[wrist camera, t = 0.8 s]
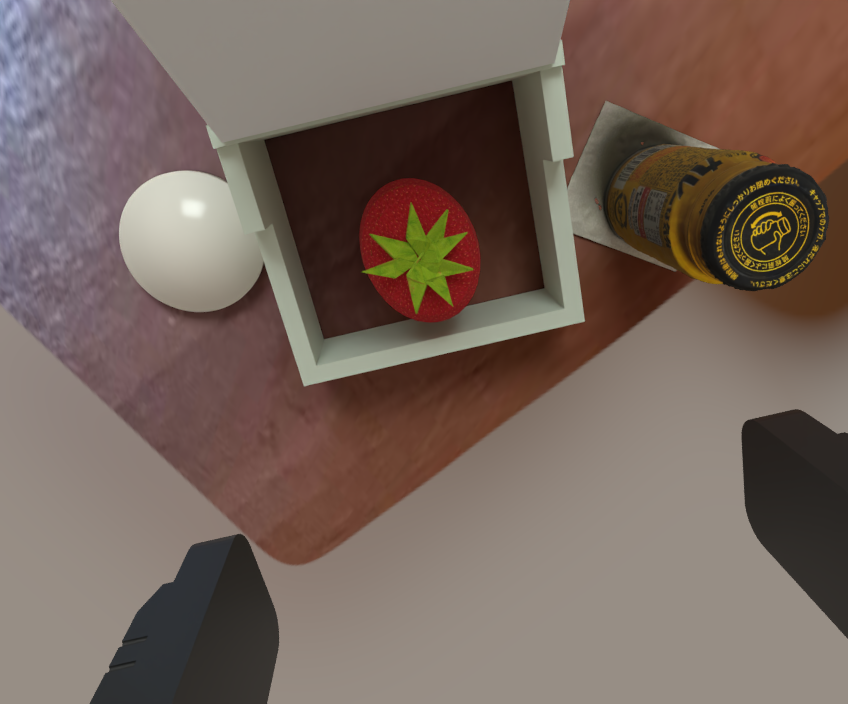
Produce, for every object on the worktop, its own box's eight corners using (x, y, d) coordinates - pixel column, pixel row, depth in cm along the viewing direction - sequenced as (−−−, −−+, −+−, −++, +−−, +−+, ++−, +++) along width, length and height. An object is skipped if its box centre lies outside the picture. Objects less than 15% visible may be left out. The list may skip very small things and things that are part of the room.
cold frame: (204, 6, 31) (5, -122, 15) (508, -68, 31) (647, -285, 15) (312, 357, 38) (258, 532, 22) (562, 299, 38) (697, 433, 22)
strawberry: (396, 310, 38) (400, 371, 28) (342, 195, 35) (326, 221, 26) (485, 271, 37) (519, 321, 28) (436, 152, 35) (455, 162, 25)
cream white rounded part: (102, 188, 34) (95, 189, 34) (240, 155, 34) (237, 156, 33) (155, 321, 37) (150, 325, 36) (283, 291, 37) (281, 294, 36)
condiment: (674, 271, 38) (795, 332, 27) (550, 224, 37) (624, 269, 25) (732, 154, 36) (891, 169, 25) (603, 100, 34) (710, 89, 23)
